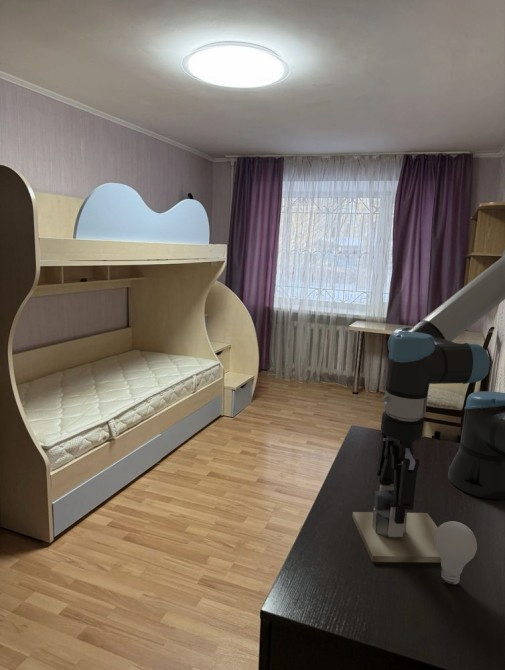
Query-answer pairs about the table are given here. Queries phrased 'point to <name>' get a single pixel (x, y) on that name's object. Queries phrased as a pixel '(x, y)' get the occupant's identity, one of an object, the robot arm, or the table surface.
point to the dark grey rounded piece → (383, 512)
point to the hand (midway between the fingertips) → (389, 524)
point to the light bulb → (454, 549)
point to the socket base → (400, 539)
